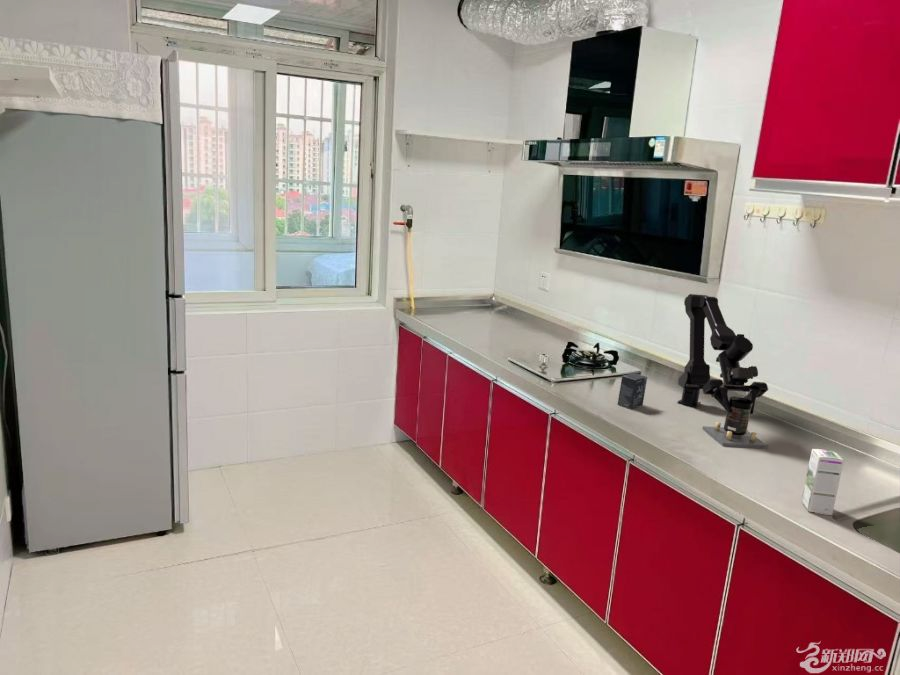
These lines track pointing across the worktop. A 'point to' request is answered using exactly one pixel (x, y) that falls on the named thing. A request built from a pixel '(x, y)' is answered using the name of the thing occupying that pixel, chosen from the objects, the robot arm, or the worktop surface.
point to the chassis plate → (734, 438)
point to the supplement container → (738, 415)
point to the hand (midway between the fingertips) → (740, 413)
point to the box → (632, 390)
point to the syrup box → (822, 481)
